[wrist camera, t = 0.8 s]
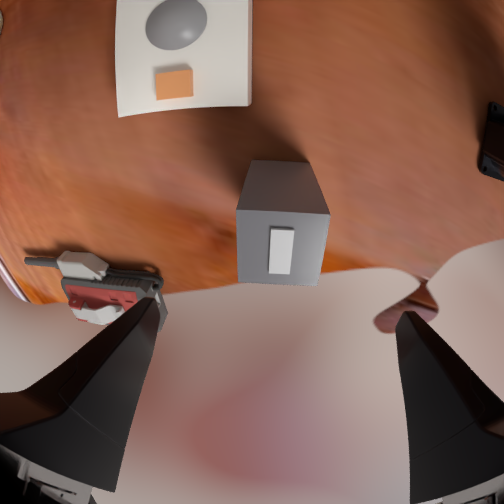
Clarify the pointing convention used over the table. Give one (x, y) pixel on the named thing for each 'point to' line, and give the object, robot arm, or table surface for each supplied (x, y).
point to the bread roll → (1, 21)
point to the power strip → (182, 54)
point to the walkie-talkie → (102, 286)
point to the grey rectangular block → (281, 224)
